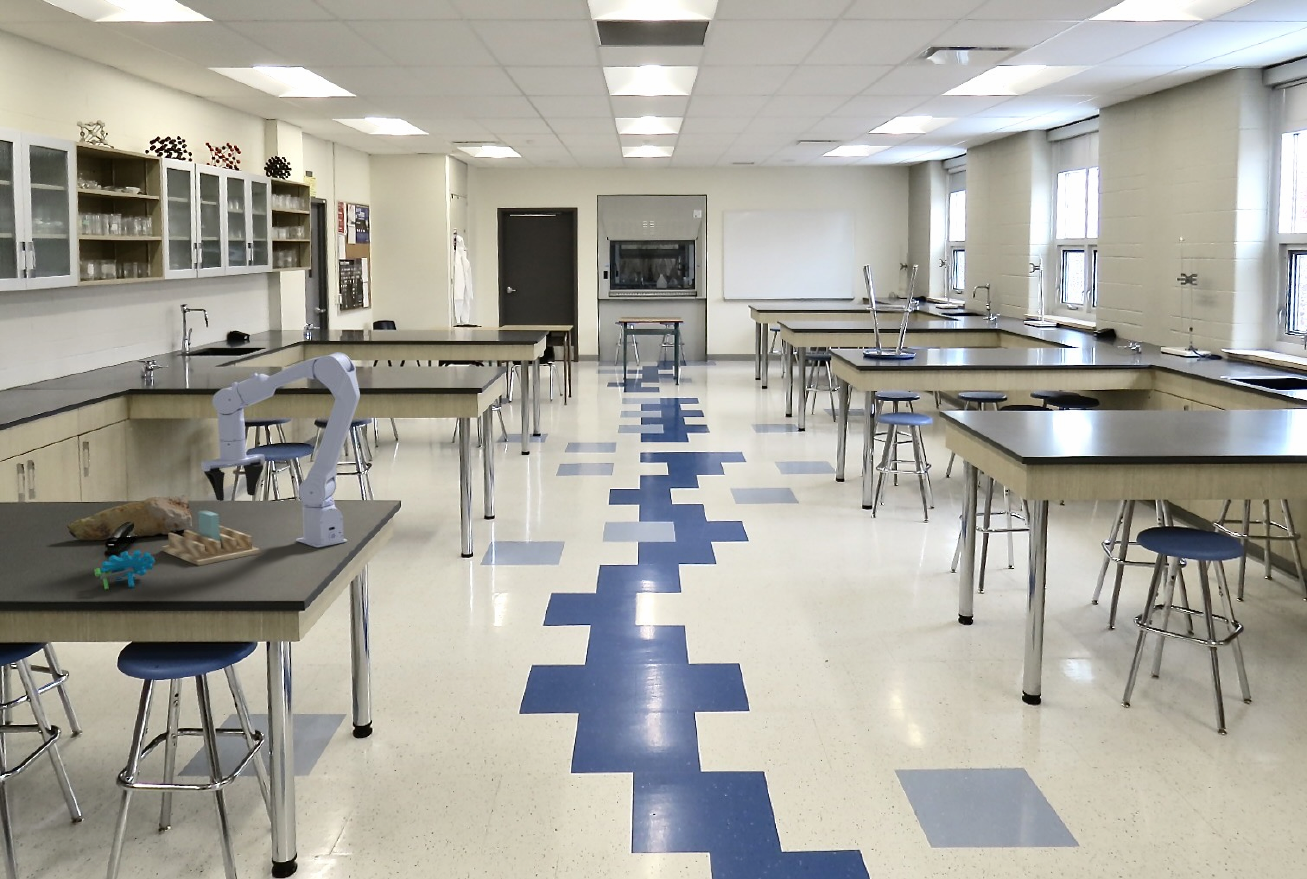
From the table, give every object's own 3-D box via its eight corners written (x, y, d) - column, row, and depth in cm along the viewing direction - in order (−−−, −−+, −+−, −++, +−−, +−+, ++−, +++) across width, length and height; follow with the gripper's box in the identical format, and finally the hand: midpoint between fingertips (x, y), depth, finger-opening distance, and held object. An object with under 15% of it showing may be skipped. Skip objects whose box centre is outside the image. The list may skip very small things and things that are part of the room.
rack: (259, 553, 250) (258, 535, 250) (198, 565, 240) (197, 547, 240) (221, 539, 263) (220, 522, 262) (162, 550, 252) (160, 533, 252)
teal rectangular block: (220, 549, 250) (218, 514, 249) (212, 550, 249) (210, 515, 247) (208, 544, 254) (206, 510, 253) (200, 546, 253) (198, 511, 251)
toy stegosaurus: (156, 567, 233) (150, 543, 225) (161, 591, 230) (155, 567, 222) (98, 580, 228) (89, 556, 221) (103, 605, 226) (94, 581, 218)
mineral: (63, 510, 254) (65, 509, 263) (69, 550, 255) (71, 547, 264) (188, 492, 266) (186, 491, 275) (194, 530, 266) (191, 528, 275)
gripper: (252, 434, 266) (255, 490, 268) (193, 441, 255) (197, 499, 257) (268, 437, 261) (271, 494, 263) (208, 444, 250) (212, 504, 252)
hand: (235, 497), depth 260 cm, fingers open, 7 cm apart
